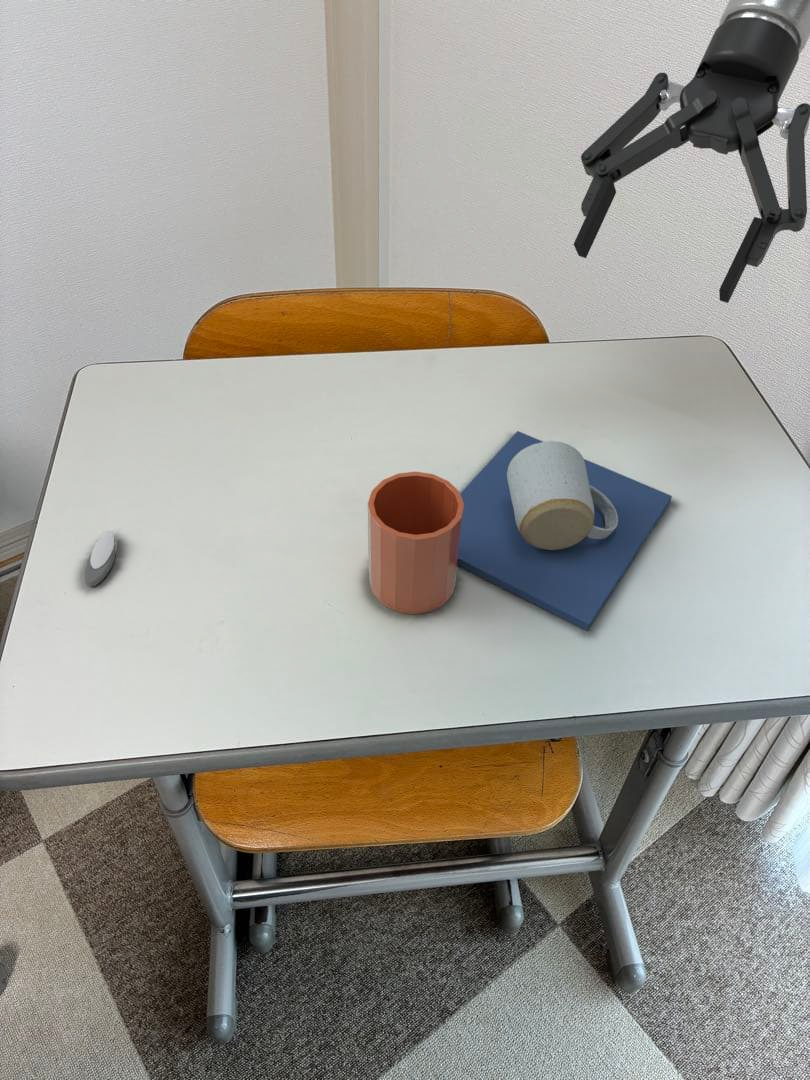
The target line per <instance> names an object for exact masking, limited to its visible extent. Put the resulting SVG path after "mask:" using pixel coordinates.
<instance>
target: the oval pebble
mask: <svg viewBox="0 0 810 1080" xmlns="http://www.w3.org/2000/svg"><path fill="white" fill-rule="evenodd" d="M117 541H118V540H117V538H116V536H115V533H114V532H113V531H112V530H107V531H105V532H103V533H102V535H101V536H99V539H98V540H97V541H96V543H95V544H94V546H93V548H92V551H91V553H90V555H89V556H88V558H87V560H86V564H85V569H84V579H85V582H86V585H88V586H90V587H95V586H98V584H100V583H101V582H102V581H103V580H104V579H105V577H106V576H107V575H108V573H109V572H110V570H111V569H112V567H113V565H114V562H115V558H116V554H117V547H118V542H117Z"/></svg>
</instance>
